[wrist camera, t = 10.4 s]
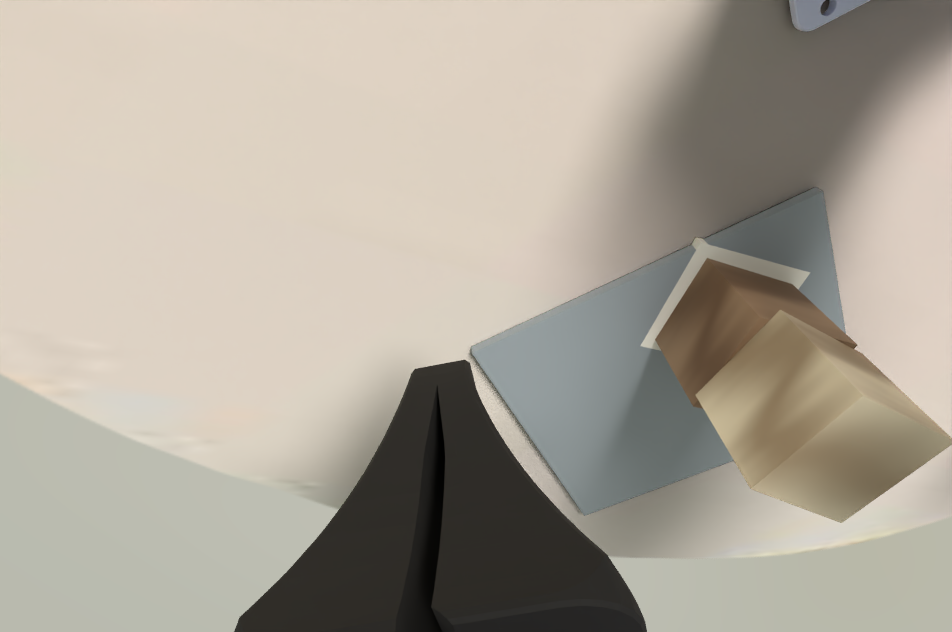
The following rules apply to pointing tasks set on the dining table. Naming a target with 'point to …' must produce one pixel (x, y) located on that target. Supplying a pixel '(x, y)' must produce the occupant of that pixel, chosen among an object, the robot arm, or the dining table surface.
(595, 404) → the light blue flat plate
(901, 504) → the dining table surface
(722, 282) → the walnut block
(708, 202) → the dining table surface
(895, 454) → the birch block
